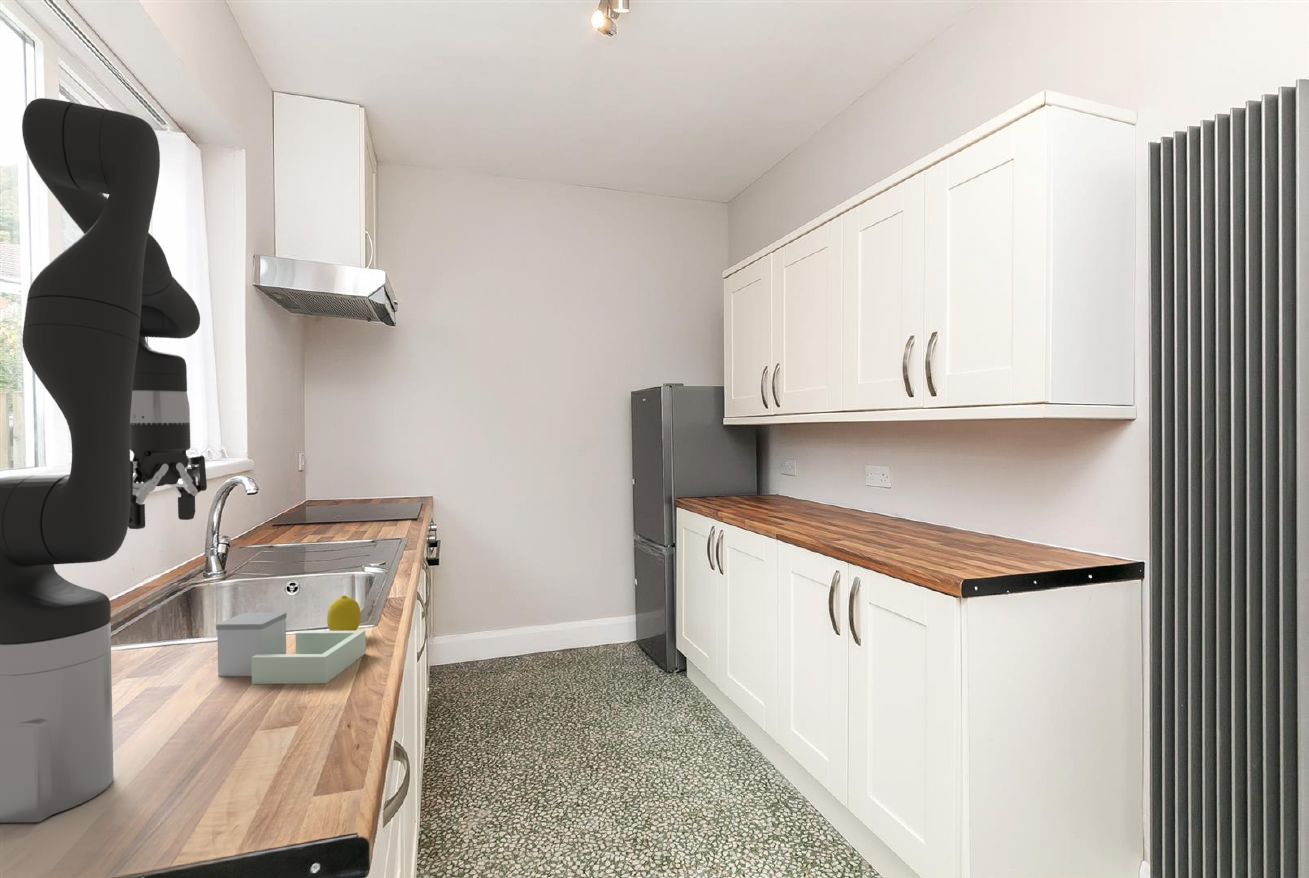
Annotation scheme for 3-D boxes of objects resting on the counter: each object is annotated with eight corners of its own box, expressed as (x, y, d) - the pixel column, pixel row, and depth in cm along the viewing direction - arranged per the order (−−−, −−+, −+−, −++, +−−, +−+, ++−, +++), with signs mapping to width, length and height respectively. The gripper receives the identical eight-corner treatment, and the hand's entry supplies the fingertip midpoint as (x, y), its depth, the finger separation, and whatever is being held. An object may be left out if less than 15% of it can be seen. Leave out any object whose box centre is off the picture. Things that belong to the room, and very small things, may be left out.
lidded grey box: (263, 676, 96) (262, 624, 96) (217, 676, 96) (216, 624, 96) (287, 661, 102) (286, 612, 102) (243, 661, 102) (243, 613, 102)
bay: (326, 683, 93) (325, 656, 93) (251, 683, 93) (251, 657, 93) (365, 654, 105) (365, 630, 105) (300, 654, 105) (299, 631, 105)
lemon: (351, 644, 110) (351, 599, 110) (321, 644, 110) (320, 599, 110) (366, 634, 116) (366, 591, 116) (337, 634, 116) (337, 591, 116)
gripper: (138, 421, 89) (141, 533, 90) (219, 420, 103) (221, 517, 104) (92, 421, 90) (95, 531, 91) (178, 420, 104) (181, 516, 105)
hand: (162, 523), depth 97 cm, fingers open, 8 cm apart
